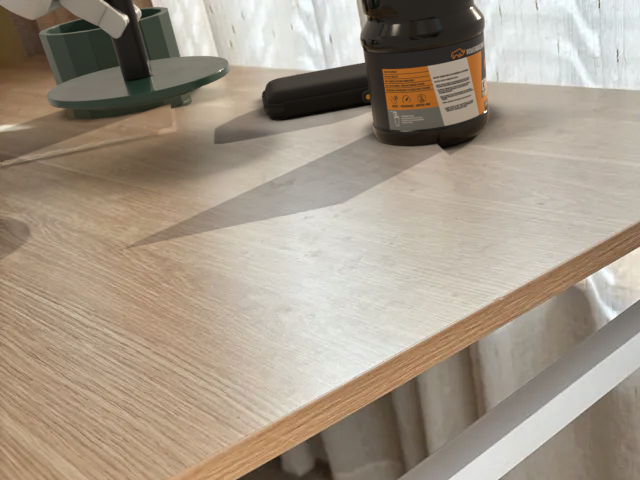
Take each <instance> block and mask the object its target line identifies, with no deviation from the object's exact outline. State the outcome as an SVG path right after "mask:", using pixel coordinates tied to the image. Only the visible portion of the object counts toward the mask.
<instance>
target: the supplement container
mask: <svg viewBox="0 0 640 480" xmlns="http://www.w3.org/2000/svg"><path fill="white" fill-rule="evenodd" d="M360 3H361V11H362V14H364V15H365V16H366V21H365V23H364V25H363V27H362V29H361V31H360V33H359V40H360V45H361V47H362V51H363V58H364V63H365V66H366V73H367V80H368V88H369V95H370V102H371V104H370V107H371V108H370V109H371V116H372V128H373V133H374V135H375V137H376V140H378V141H379V142H380V143H382V144H385V145H390V146H396V147H397V146H398V147H419V146H429V145H438V147H440V148H443V147H448V145H449V146H452V144H453V145H456V144H459V142H460V143H463V142H466V141H468V140H470V139H472V138H475V137H476V136H478V135H479V134H480V133H481V132H482V131H483V130H484V129H485V128H486V126H487V125H488V122H489V119H490V107H489V103H488V101H489V100H488V99H489V98H488V83H487V66H486V65H487V64H486V46H485V29H486V19H485V16H484V14H483V12H482V11H481V10H480V9H479V8H478V6H477V5H476V4H475V0H360Z"/></svg>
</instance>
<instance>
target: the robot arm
mask: <svg viewBox="0 0 640 480" xmlns="http://www.w3.org/2000/svg"><path fill="white" fill-rule="evenodd" d="M133 5H134V9H135V12H136V16H137V19H138V22H139V19H140V17H141V11H140V9H139V8H140V7H138V6H137V5H136V4H135V3H133ZM0 6H1V7H3V8H4V9H5V10H8V11H9V12H11V13H13V14H15V15H17V16H20V17H21V18H24V19H26V20H30V21H34V20H37V19H39V18H42V17H44V16H46V15H48V14H50V13H53V12H55V11H57V10H59V9H61V8H63V7H64V8H65V9H66V10H67V11H69V12H70V13H71V14H72V15H74V16H75V17H77V18H79V19H84V20H86V21H88V22H90V23H92V24H94V25H96V26H99V27H100V28H101V29H103V30H104V31H105V32H107V33H108V34H109V35H111V36H112V37H113V38H116V39H117V38H119V37H121V36H122V35H124V33H125V31H126V29H127V27H128V25H129V22H130V20H129V18H128V16H127V15H126V14H125V13H123V12H121V11H120V9H118V8H117V7H116V6H114V5H113V4H110V5H109V4H108V3H106V2H105V1H104V0H0Z"/></svg>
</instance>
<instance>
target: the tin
mask: <svg viewBox="0 0 640 480" xmlns="http://www.w3.org/2000/svg"><path fill="white" fill-rule="evenodd" d="M138 8H139V9H140V11H141V17H140V19H139V22H138V23H139V27H140V30H141V34H142V37H143V41H144V44H145V48H146V52H147V55H148V59H149V61H151V60H158V59H165V58H174V57H182V56H181V52H180V49H179V44H178V42H177V38H176V34H175V31H174V27H173V23H172V19H171V15H170V12H169V9H168V7H164V6H163V7H162V6H151V7H149V6H148V7H138ZM38 36H39V39H40V43H41V45H42V49H43V51H44V53H45V57H46V59H47V62H48V64H49V67H50V70H51V72H52V76H53V78H54V81H55V84H56V86H57V85H59V84H61V83H64V82H66V81H69V80H71V79H74V78H77V77H80V76H83V75H87V74H90V73H94V72H97V71H101V70H105V69H109V68H114V67H118V66H119V62H118V59H117V56H116V52H115V49H114V46H113V42H112V39H111V36H110V35H109V34H108V33H107V32H105V31H104V30H103V29H101V28H100V27H99V26H96V25H94V24H92V23H90V22H88V21H86V20H84V19H82V18H78V19H73V20H70V21H65V22H62V23H59V24H55V25H52V26H49V27H46V28H45V29H42V30H41V31H40V32H39V33H38ZM192 100H193V98H192V95H191V92H190V93H187V94H184V95H181V96H178V97H174V98H171V99H167V100H163V101H159V102H155V103H150V104H145V105H139V106H133V107H126V108H118V109H104V110H92V109H65V111H66V114H67V116H68V117H69V118H73V119H76V120H97V119H105V118H114V117H115V118H116V117H121V116H127V115H131V114H136V113H141V112H145V111H148V110H151V109H156V108H159V107H162V106H165V105H168V104H170V109H171V110H172V109H176V108H182V107H187V106H189V105H190V104H191V103H192Z"/></svg>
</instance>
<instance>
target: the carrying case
mask: <svg viewBox="0 0 640 480" xmlns="http://www.w3.org/2000/svg"><path fill="white" fill-rule="evenodd" d="M261 100H262V107H263V111H264V112H265V114H266V115H267V116H269V117H271V119H272V120H274V121H283V120H288V119H289V120H290V119H294V118H301V117H305V116H310V115H311V116H312V115H317V114H321V113H327V112H332V111H338V110H344V109H349V108H354V107H361V106H366V105H371V102H370V95H369V88H368V80H367V73H366V66H365V62H360V63H354V64H349V65H343V66H342V65H341V66H336V67H332V68H331V67H330V68H325V69H320V70H315V71H309V72H304V73H298V74H292V75H288V76H282V77H278V78H274V79H272V80H269V81H268V82H267V84H266V85H265V88H264V90H263V91H262V93H261Z"/></svg>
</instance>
